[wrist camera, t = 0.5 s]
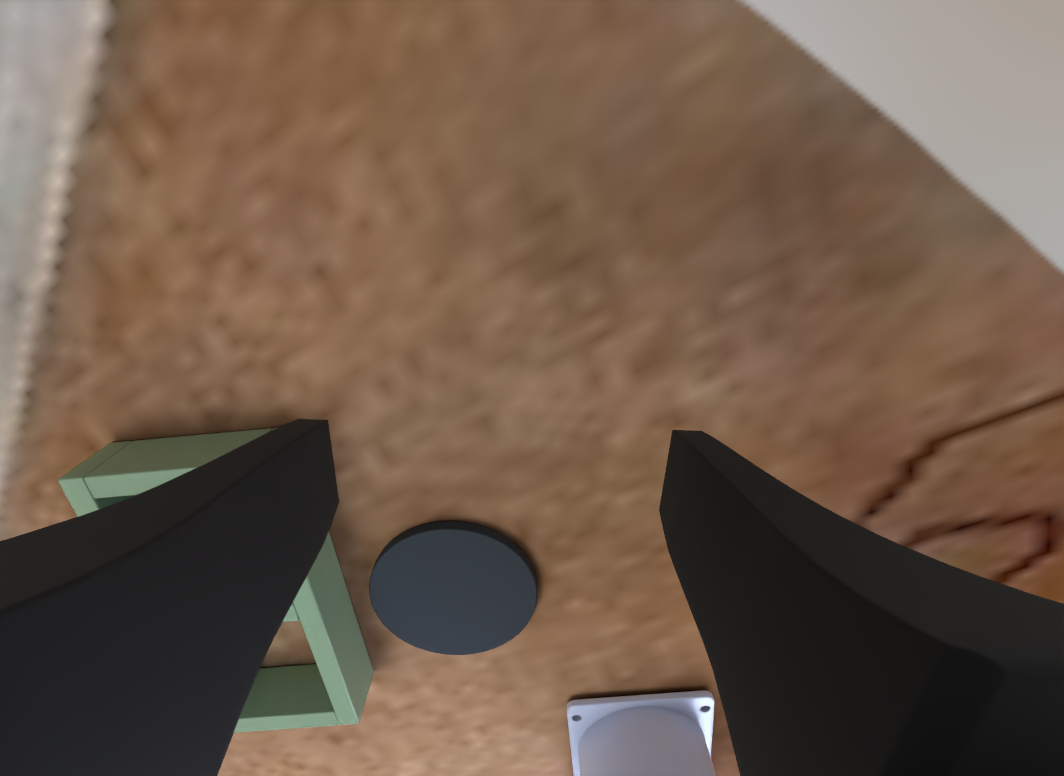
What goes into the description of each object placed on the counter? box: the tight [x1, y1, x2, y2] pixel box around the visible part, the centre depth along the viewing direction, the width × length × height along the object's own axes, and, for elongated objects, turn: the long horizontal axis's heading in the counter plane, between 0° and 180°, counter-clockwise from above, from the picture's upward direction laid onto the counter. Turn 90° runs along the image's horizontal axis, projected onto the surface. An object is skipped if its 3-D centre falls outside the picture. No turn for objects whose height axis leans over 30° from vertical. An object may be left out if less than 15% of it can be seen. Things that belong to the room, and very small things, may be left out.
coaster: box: [369, 521, 537, 655], centre depth 25 cm, size 8×8×1 cm
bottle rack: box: [58, 428, 374, 733], centre depth 24 cm, size 8×15×3 cm, turn 6°
